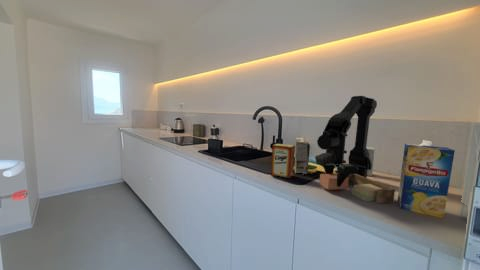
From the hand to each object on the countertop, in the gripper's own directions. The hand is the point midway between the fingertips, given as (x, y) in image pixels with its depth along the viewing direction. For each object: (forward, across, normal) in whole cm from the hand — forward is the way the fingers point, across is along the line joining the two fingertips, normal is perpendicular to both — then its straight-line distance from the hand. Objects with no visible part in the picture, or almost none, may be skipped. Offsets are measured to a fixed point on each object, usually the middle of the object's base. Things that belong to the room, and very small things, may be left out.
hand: (333, 183), depth 82 cm
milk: (+3, +4, +40) cm, 41 cm away
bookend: (+3, -7, +10) cm, 12 cm away
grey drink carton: (+3, -25, -2) cm, 25 cm away
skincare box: (+3, -19, +32) cm, 38 cm away
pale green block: (+3, +8, +9) cm, 12 cm away
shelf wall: (+3, +3, +12) cm, 13 cm away
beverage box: (+3, +19, +19) cm, 27 cm away
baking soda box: (+3, -20, -15) cm, 25 cm away
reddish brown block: (+1, 0, 0) cm, 1 cm away
